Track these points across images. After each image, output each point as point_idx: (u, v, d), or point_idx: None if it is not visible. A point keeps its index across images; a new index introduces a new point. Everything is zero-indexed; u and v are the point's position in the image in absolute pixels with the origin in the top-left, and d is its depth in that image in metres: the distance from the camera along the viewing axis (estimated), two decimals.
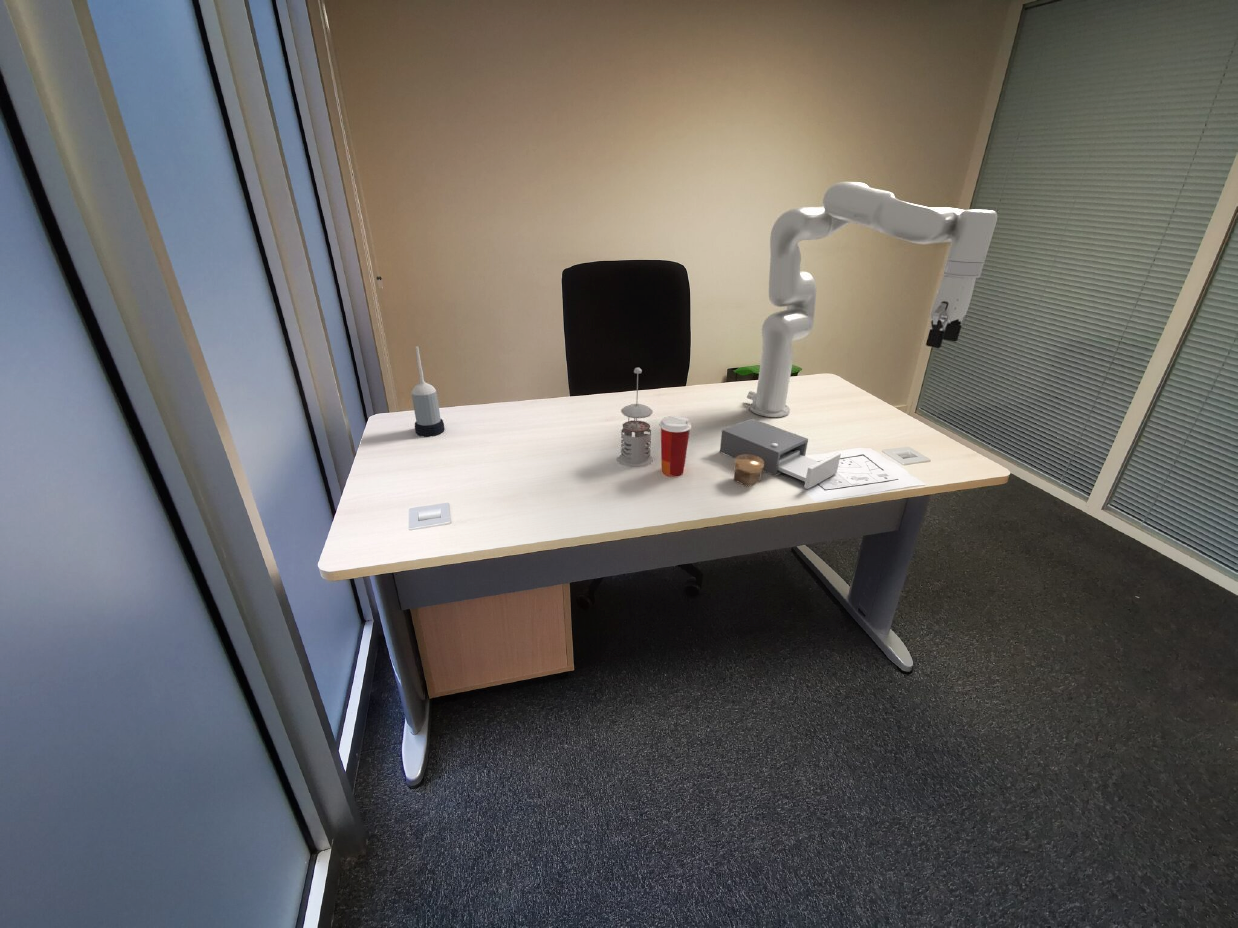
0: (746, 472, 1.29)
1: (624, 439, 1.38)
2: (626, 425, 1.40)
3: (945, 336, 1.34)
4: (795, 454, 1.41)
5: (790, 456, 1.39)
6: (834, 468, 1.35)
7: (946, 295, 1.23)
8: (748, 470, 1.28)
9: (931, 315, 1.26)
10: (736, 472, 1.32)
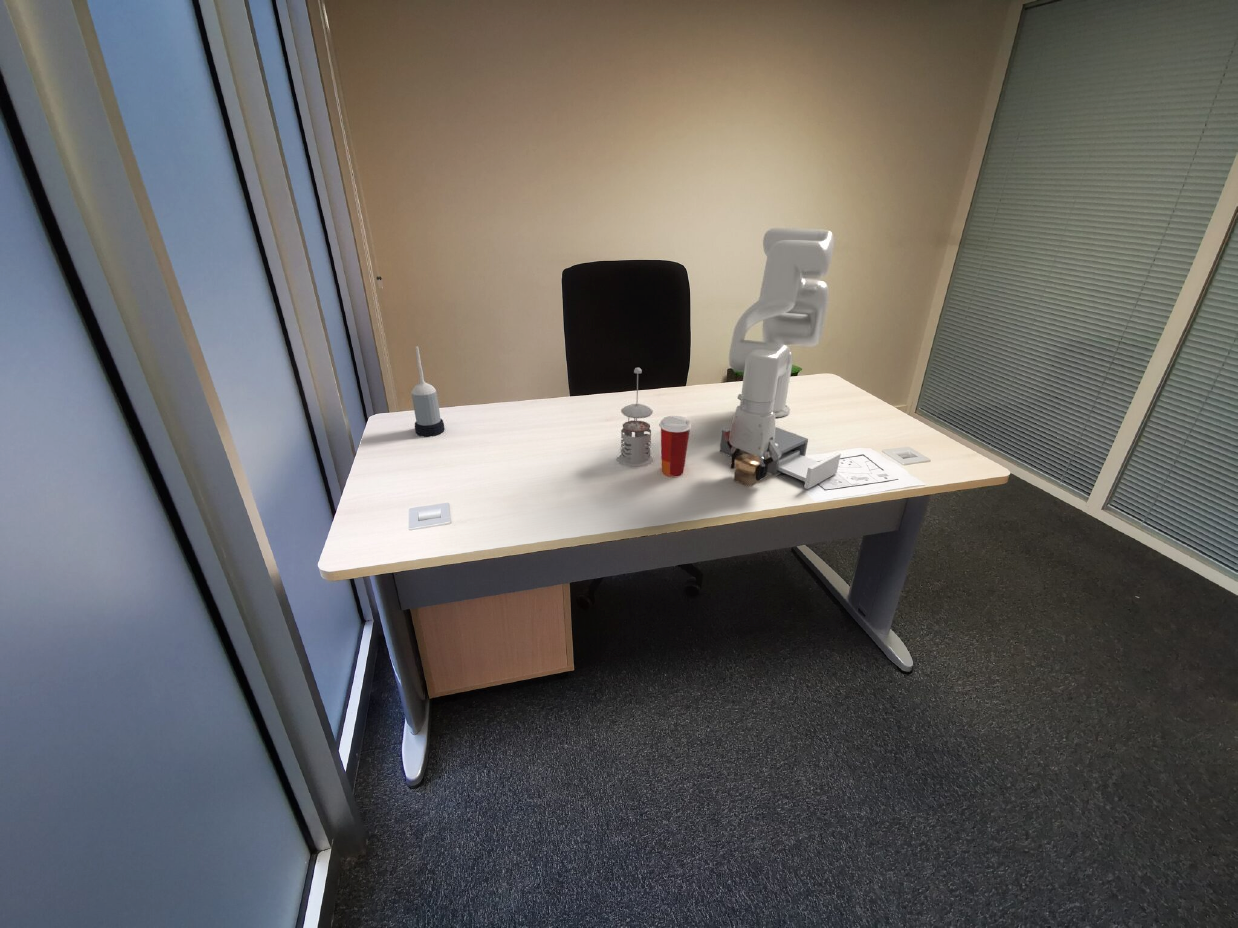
0: (746, 472, 1.29)
1: (624, 439, 1.38)
2: (626, 425, 1.40)
3: None
4: (795, 454, 1.41)
5: (790, 456, 1.39)
6: (834, 468, 1.35)
7: (771, 432, 1.23)
8: (748, 470, 1.28)
9: (763, 453, 1.24)
10: (736, 472, 1.32)
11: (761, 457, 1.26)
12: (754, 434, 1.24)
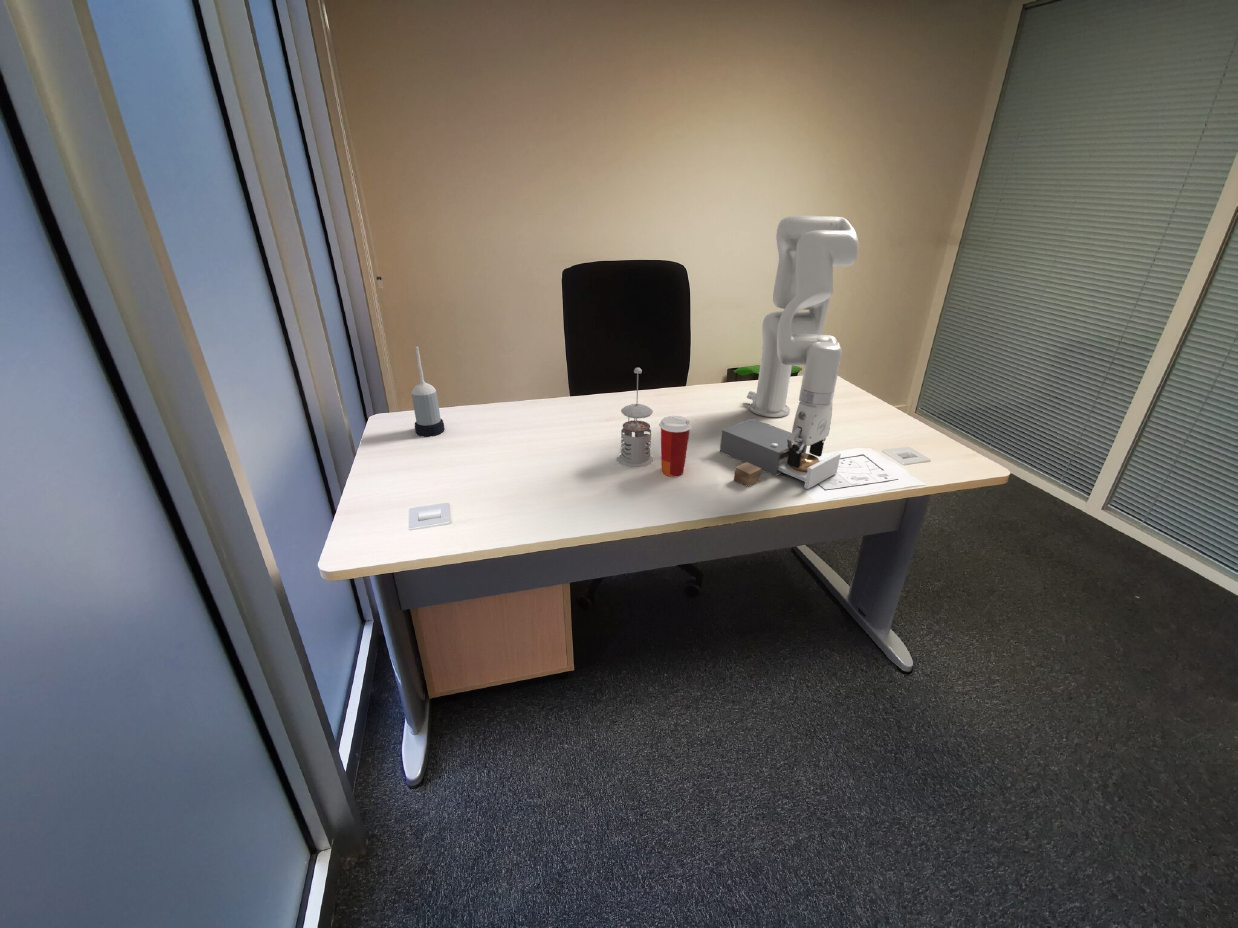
0: None
1: (624, 439, 1.38)
2: (626, 425, 1.40)
3: None
4: None
5: None
6: (834, 468, 1.35)
7: None
8: None
9: None
10: (736, 472, 1.32)
11: None
12: (827, 420, 1.30)
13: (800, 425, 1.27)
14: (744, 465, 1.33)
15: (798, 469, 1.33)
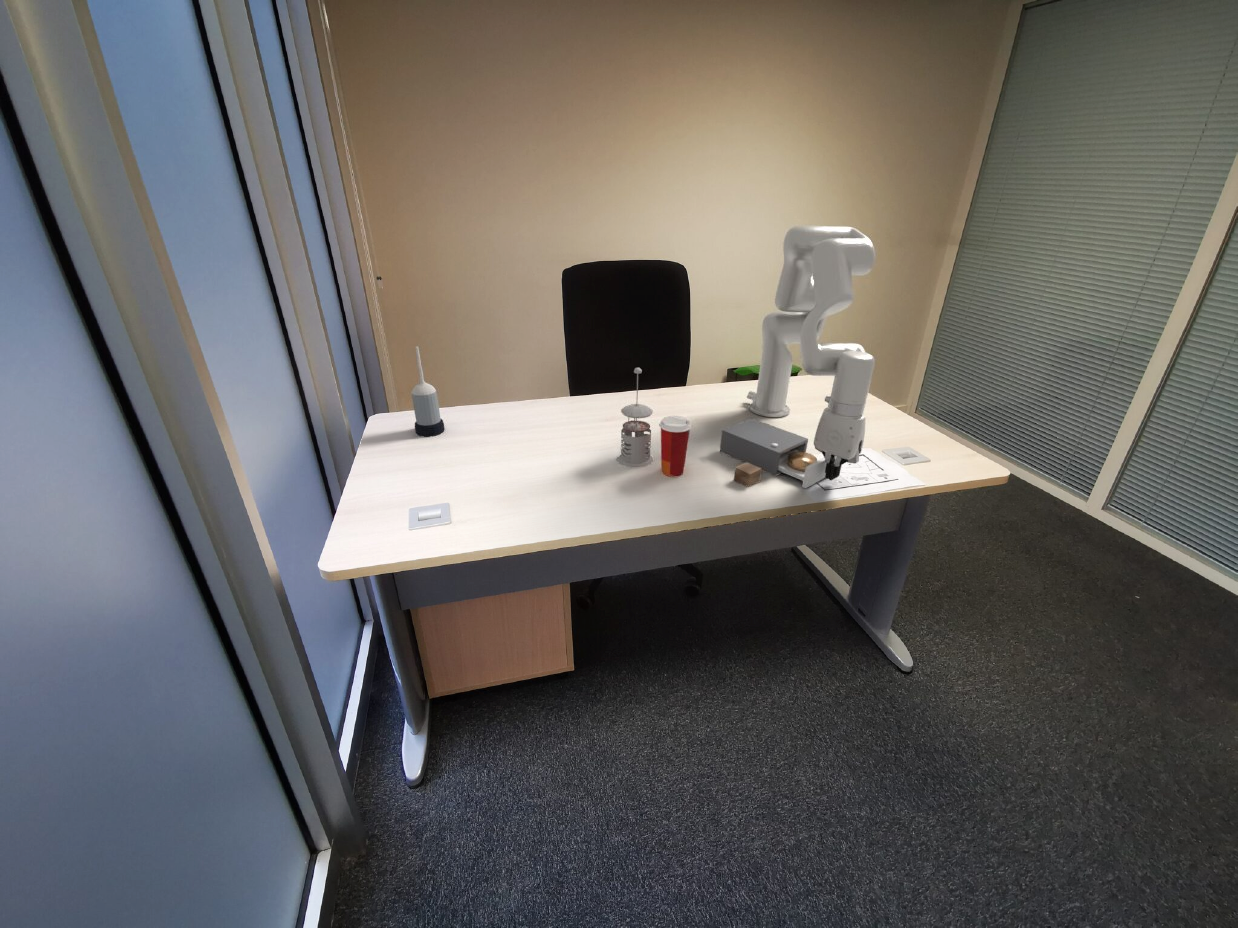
0: None
1: (624, 439, 1.38)
2: (626, 425, 1.40)
3: None
4: None
5: None
6: None
7: (861, 435, 1.22)
8: None
9: (852, 456, 1.23)
10: (736, 472, 1.32)
11: (839, 459, 1.26)
12: (844, 437, 1.22)
13: None
14: (744, 465, 1.33)
15: (800, 469, 1.33)
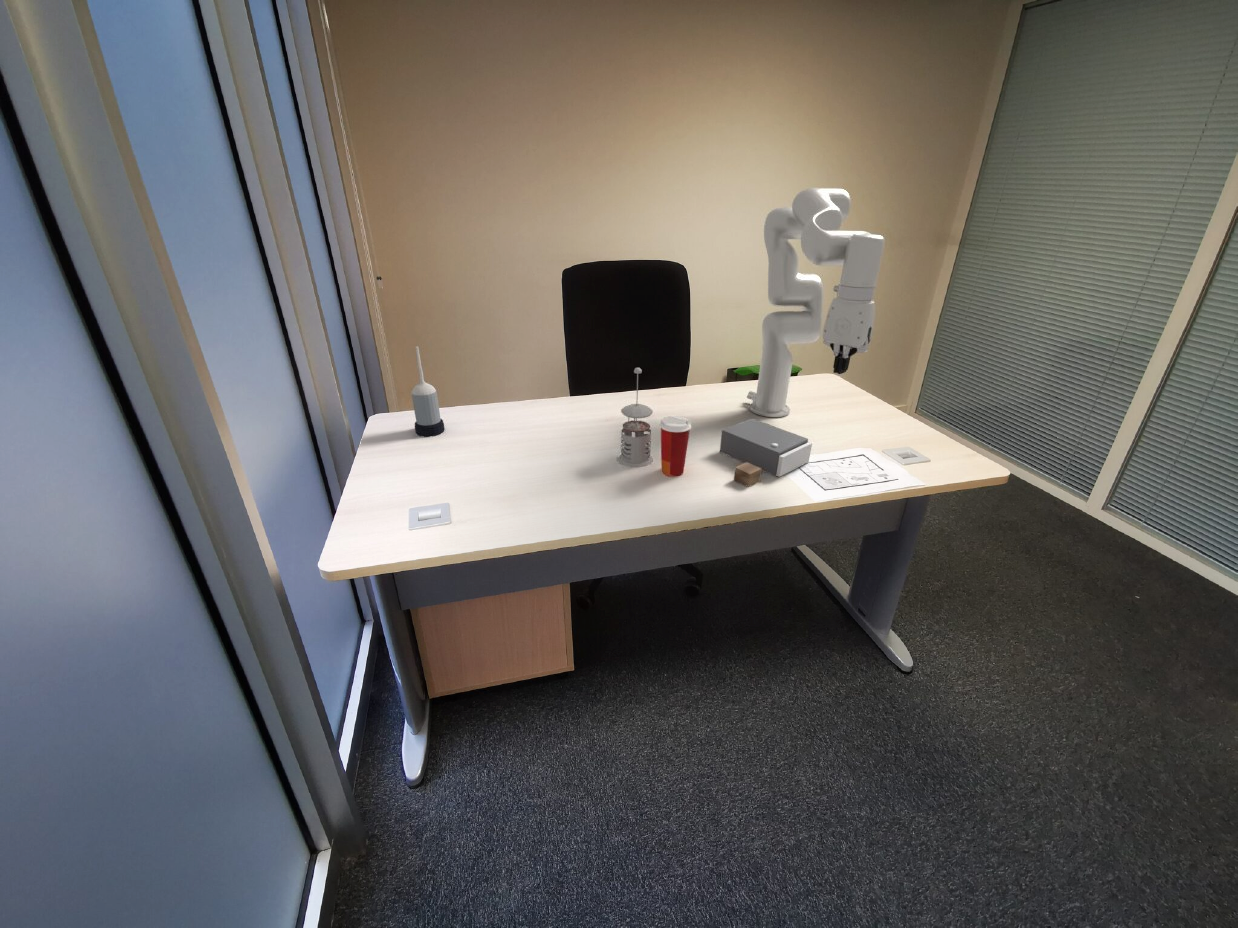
0: None
1: (624, 439, 1.38)
2: (626, 425, 1.40)
3: (837, 369, 1.29)
4: None
5: None
6: (806, 457, 1.40)
7: (871, 321, 1.20)
8: None
9: (861, 344, 1.22)
10: (736, 472, 1.32)
11: (848, 349, 1.25)
12: (853, 323, 1.21)
13: None
14: (744, 465, 1.33)
15: None
